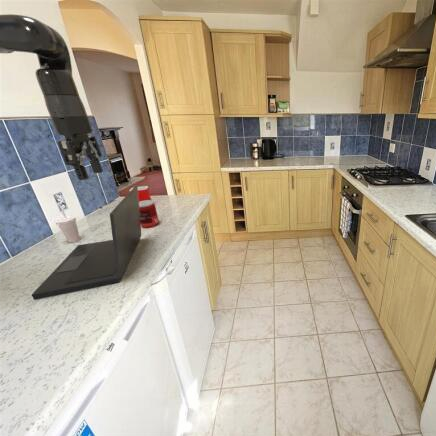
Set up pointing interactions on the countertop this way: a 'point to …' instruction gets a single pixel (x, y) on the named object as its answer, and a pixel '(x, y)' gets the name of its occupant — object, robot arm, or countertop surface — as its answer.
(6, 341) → the countertop surface
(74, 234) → the smoothie
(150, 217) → the canned food
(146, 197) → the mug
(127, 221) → the laptop screen
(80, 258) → the laptop
